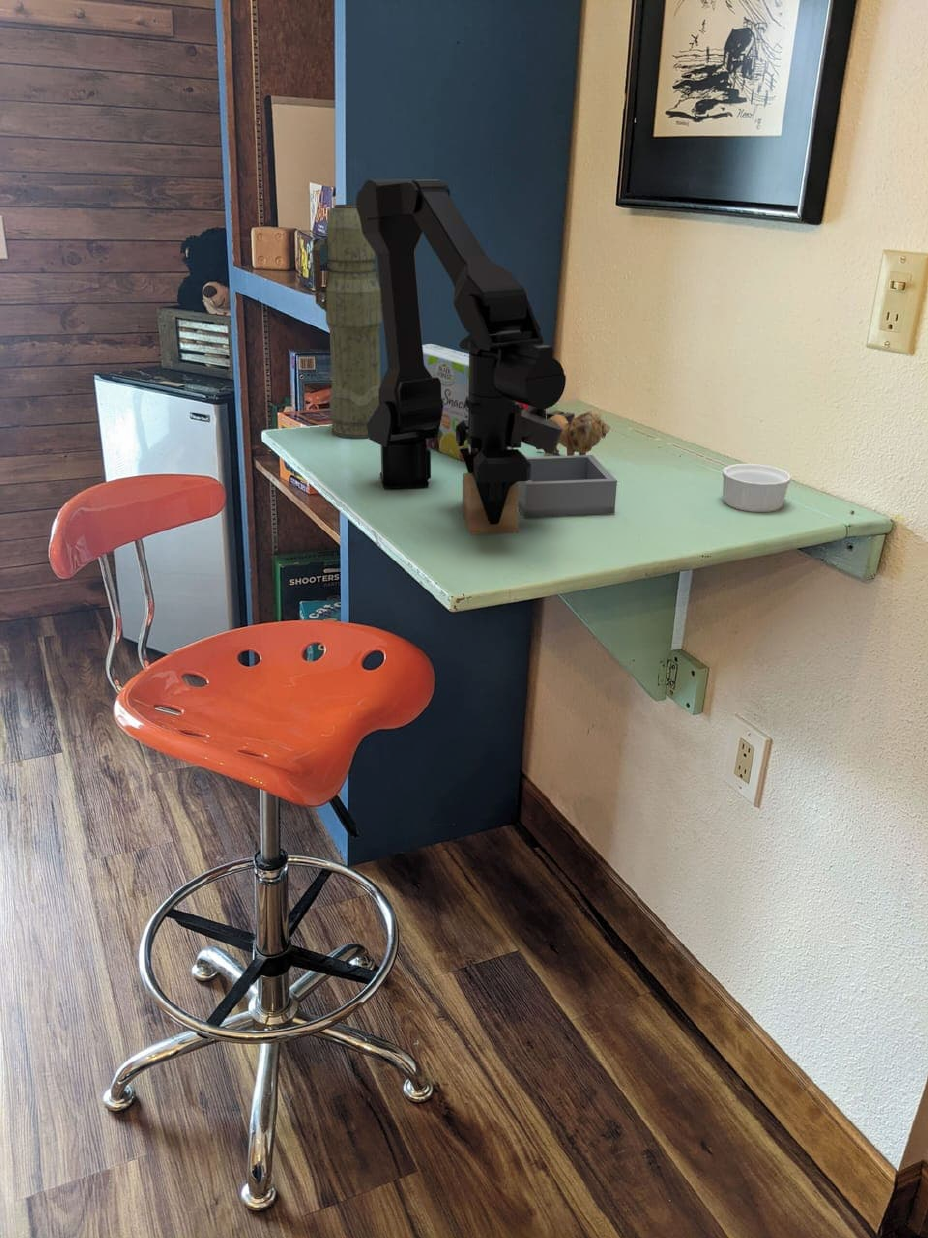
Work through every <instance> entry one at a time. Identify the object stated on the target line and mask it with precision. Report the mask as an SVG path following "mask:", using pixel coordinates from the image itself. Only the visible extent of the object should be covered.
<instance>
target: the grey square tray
mask: <svg viewBox="0 0 928 1238" xmlns="http://www.w3.org/2000/svg"><path fill="white" fill-rule="evenodd" d="M525 457H526V456H525ZM526 458H527V460H528V461H529V463H530V464H531V473H530V480H528V481H520V482H517V484H518V485H519V499H518V510H520V512H521V514H522V516H523V517H524V518H525V519H526V518H527V519H531V518H549V517H570V516H571V517H576V516H591V515H592V516H597V515H614V514H615V512H616V511H615V510H616V498H617V486H618V485H617V484H618V480H617V479H616V478H615V477H614V476H613V475H612V474H611V473H610V471H609V470H607V469H606V467H605V466H604V465H602V463H601V462H599V460H598V459H597V458H596V457H595V456H594V455H593V454H585V455H579V454H578V455H576V454H574V455H573V456H567V455H550V456H545V455H544V456H527V457H526Z"/></svg>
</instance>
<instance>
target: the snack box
mask: <svg viewBox="0 0 928 1238" xmlns="http://www.w3.org/2000/svg"><path fill="white" fill-rule="evenodd" d="M423 355H424V364H425V367H426V368H427V370H428V371H429V373H430V374H431V375H432V377H433V378H436V377H437V378H439V380H440V382H441V397H442V402H443V406H444V408H443V413H442V418H441V422H440V427H439V432H438V436H437V438H436V439H426V441H427V446H428V447H429V449H430V448H431V449H433V450H436V451H438V452H440V453H443V454H445V455H448V456H450V457H452V458H455V459H457V460H460V461H463V458H462V455H461V453H460V449H462V448H466V441H464V445H463V446H458V444H457V442H456V427H457V426H458V425H459V424H460V423H461V422H462V421H463V420H468V408H467V406H466V397H468V392H469V353H466V352H464V351H463V352H462V351H459V350H456V349H453V348H448V347H444V346H442V345H441V346H440V345H437V344H433V343H427V344H423ZM507 449H515V448H511V447H507ZM463 462H464V461H463Z"/></svg>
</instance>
